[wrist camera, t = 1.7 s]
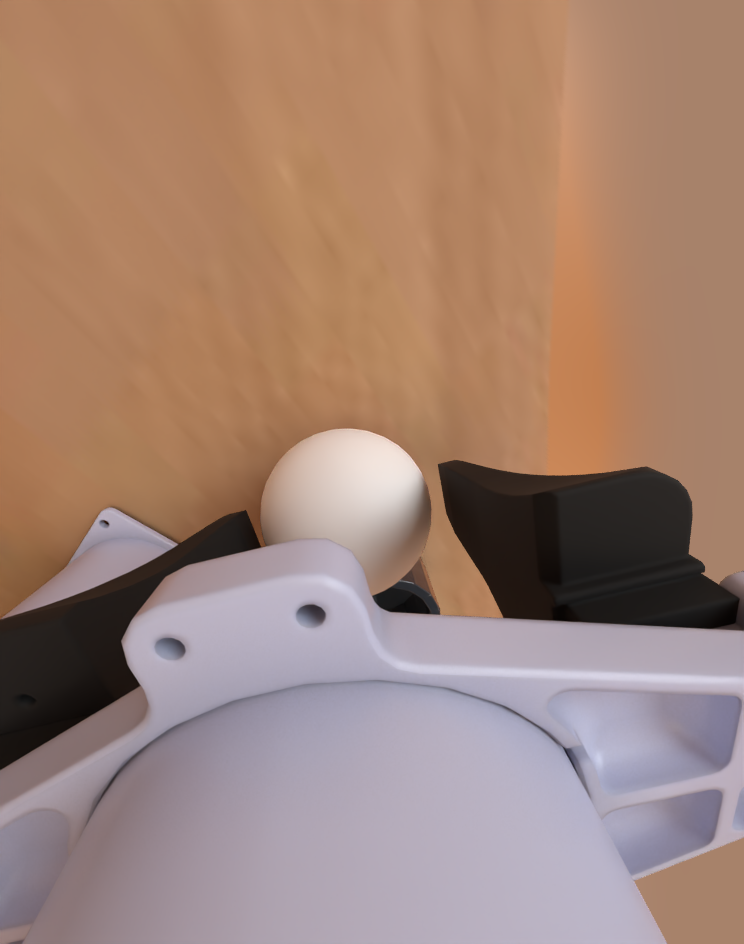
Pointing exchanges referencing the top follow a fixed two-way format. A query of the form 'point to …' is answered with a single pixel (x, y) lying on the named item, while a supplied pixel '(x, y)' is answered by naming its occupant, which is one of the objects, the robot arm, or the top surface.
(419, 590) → the cup
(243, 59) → the top surface
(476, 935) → the robot arm
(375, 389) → the top surface
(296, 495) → the lightbulb
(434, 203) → the top surface
